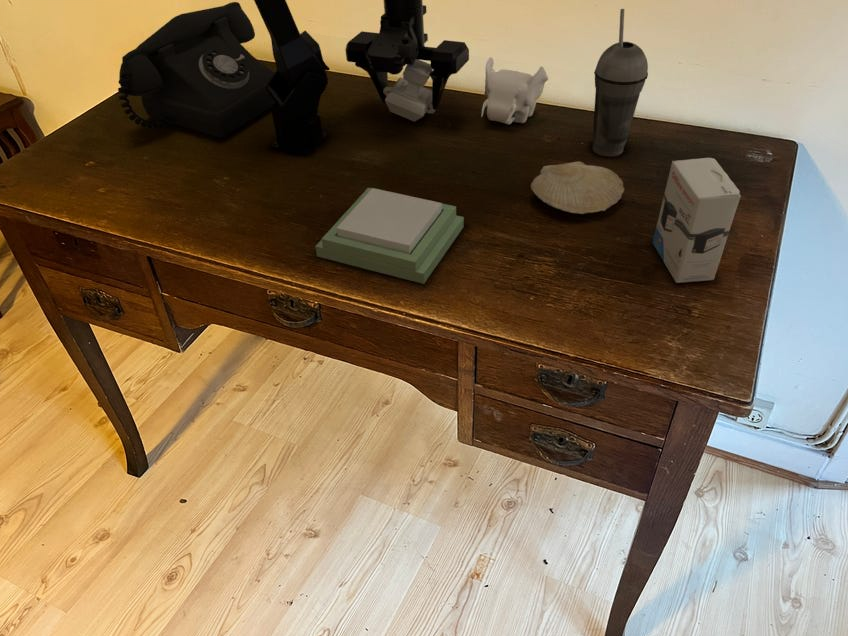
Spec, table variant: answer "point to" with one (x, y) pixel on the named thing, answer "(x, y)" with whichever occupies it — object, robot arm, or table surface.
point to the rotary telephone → (198, 73)
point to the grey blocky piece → (411, 92)
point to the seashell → (578, 187)
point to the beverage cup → (617, 93)
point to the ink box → (695, 219)
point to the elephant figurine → (511, 93)
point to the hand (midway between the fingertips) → (409, 105)
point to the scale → (392, 261)
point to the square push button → (390, 220)
